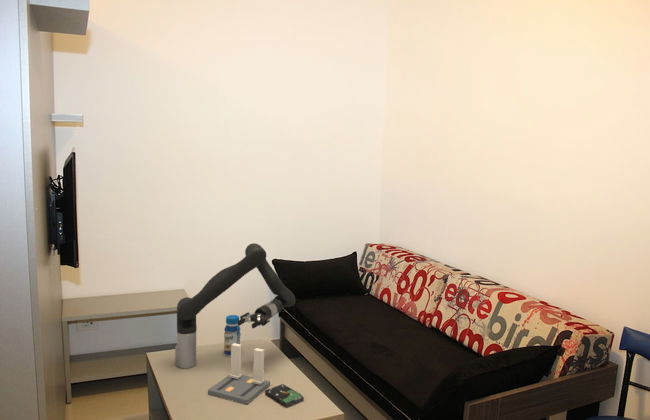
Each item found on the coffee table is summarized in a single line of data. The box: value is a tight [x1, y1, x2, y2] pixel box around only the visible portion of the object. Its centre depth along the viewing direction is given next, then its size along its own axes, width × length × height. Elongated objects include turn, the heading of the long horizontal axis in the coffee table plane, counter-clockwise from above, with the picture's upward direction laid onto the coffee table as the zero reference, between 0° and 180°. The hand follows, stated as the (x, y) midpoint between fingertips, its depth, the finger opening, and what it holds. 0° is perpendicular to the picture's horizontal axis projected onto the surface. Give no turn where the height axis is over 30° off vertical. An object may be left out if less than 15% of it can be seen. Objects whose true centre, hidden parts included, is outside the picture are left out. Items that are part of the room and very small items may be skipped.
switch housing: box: [207, 374, 271, 405], centre depth 236 cm, size 20×20×2 cm
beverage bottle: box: [223, 314, 241, 357], centre depth 274 cm, size 8×8×20 cm
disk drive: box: [264, 383, 305, 409], centre depth 231 cm, size 10×3×15 cm
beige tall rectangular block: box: [252, 347, 265, 385], centre depth 238 cm, size 4×4×15 cm
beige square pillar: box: [229, 343, 243, 379], centre depth 243 cm, size 4×4×15 cm
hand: (245, 325), depth 248 cm, fingers open, 8 cm apart
